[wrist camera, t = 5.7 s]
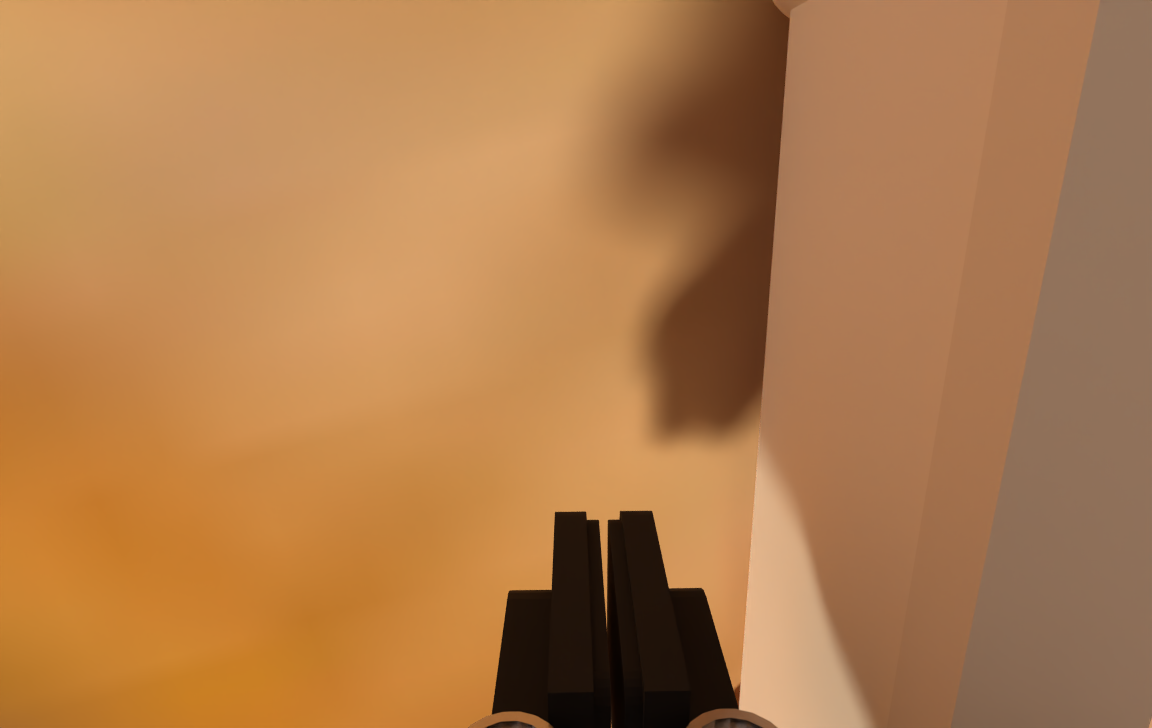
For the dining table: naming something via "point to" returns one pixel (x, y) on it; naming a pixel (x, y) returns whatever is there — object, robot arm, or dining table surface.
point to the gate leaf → (958, 371)
